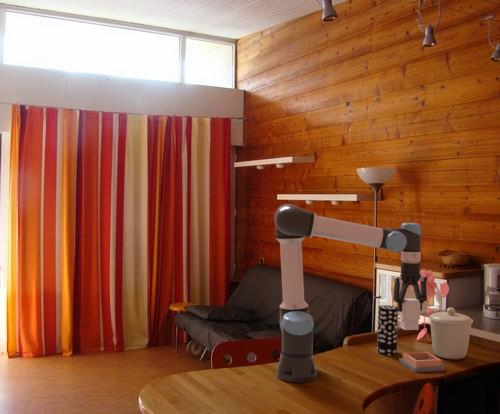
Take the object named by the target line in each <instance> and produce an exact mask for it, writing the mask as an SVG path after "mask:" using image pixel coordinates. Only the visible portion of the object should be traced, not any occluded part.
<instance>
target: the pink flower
mask: <svg viewBox="0 0 500 414" xmlns="http://www.w3.org/2000/svg"><path fill="white" fill-rule="evenodd" d="M420 275H421V276H425V277H427V281H426V291H427V296H428V297H427V301H426V302H427V306H428V307H427V308H428V310H427V313H425V314H424V315H423V322H424V323H423V329H421V330H420V332H419V333H418V335H417V338H416V341H420V340H421V339H422V338H423V337H424V336H425V335H426V338H427V340H428V342H430V338H429V335H428V328H427V327H426V315H428V317H429V316H430V315H432V314H433V313H434V311H433V310H432V309H431V308H430V304H429V299H431V298H432V297H433V296H436V295H437V296H439V297H442V298H446V297H447V295H448V294H449V292H450V287H449V284H448V283H446V282H445V281H444V282H443V283H442V284H441V286H440V293H441V294H439V293H437V292H436V291H435V289H436V288H438V283H437V282H436V281H435V276H434V275H433V271H432V270H431V269H429V270H428V271H427V269H425V268H423V270H420ZM420 282H421V281H420V279H419V281H418V284H419V289H421V284H420ZM410 290H411V291H412V290H414V288H413V287H412V288H411V289H410ZM412 348H416V349H419V350H424V351H426V349H425V348H420V347H417V346H413V345H412ZM430 351H433V349H430ZM433 352H434V351H433Z"/></svg>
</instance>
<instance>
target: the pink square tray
mask: <svg viewBox="0 0 500 414" xmlns="http://www.w3.org/2000/svg"><path fill="white" fill-rule="evenodd" d="M398 359H399V361H398V362H399V363H400V364H402V365H403V366H404V367H406V368H408V369H409V370H410V371H412V372H414V373H423V372H441V371H445V366H444V365H443V364H442V358H441V359H440V357H438V356H436V355H433V353H430V352H429V351H418V352H417V351H416V352H414V351H413V352H402V357H400V358H398Z"/></svg>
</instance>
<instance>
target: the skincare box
mask: <svg viewBox="0 0 500 414" xmlns="http://www.w3.org/2000/svg"><path fill="white" fill-rule="evenodd" d="M403 304H405V307H404V320H401V319H400V329H402V330H403V331H419V327H420V326H419V322H420V320H419V300H417V299H416V297H415V298H404V300H403Z"/></svg>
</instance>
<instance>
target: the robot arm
mask: <svg viewBox="0 0 500 414" xmlns="http://www.w3.org/2000/svg"><path fill="white" fill-rule="evenodd" d="M273 222H274V227H275V239H276V241H278V243H279V248H280V249H279V251H280V253H279V254H280V268H281V269H280V271H281V286H282V287H281V288H282V291H281V292H282V302H281V304H280V305H279V327H280V330H281V356H280V359H279V362H278V365H277V367H276V377H277V378H278V379H279V380H282V381H285V382H289V383H295V384H297V383H300V384H301V383H310V382H312V381H315V380H316V379H317V376H318V374H317V373H318V372H317V368H316V365H315V361H314V357H313V351H314V350H313V347H314V346H313V343H314V342H313V341H314V327H315V324H314V318H313V316H312V315H311V314H310V309H309V303H307V302H306V301H305V287H304V270H303V269H304V268H303V267H304V266H303V249H302V247H303V245H302V242H303V241H304V239H305V238H312V237H313V236H315V237H320V238H325V239H330V240H335V241H339V242H340V241H341V242H346V243H350V244H351V243H352V244H357V245H363V246H366V247H373V248H376V249H383V250H387V251H390V252H393V253H398V252H401V253H400V261H401V262H400V274H399V276H394V277H393V282H394V285H393V295H392V296H393V298H392V301H393V302H395V303H397V307H398V313H399V317H398V320H400V321H401V320H404V307H405V304H403V300H404V299H405V297H406V294H407V292H408V291H407V290H408V288H409V286H412V288H414V289H413V290H414V295H415V299H417V300H419V321H420V320H421V312H422V311H423V304H424V302H427V298H428V297H427V296H428V295H427V291H426V281H427V277H425V276H421V275H420V271H421V258H422V257H421V252H422V251H421V249H422V247H421V246H422V227H421V224H420V223H417V222H403V223H402V224H401V226H400V227H395V228H394V227H393V228H392V227H391V228H390V227H377V226H371V225H366V224H362V223H356V222H351V221H346V220H341V219H337V218H336V219H335V218H331V217H330V218H329V217H325V216H320V215H317V214H316V213H315V212H313V211H309V210H306V209H302V208H300V207H299V206H298V205H296V204H293V203H286V204H283V205H282V204H281V206H280V207H278V208H277V209H276V210H275V212H274V215H273ZM419 279H420V281H421V282H420V284H421V288H419V284H418V281H419ZM401 281H402V282H401Z"/></svg>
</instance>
